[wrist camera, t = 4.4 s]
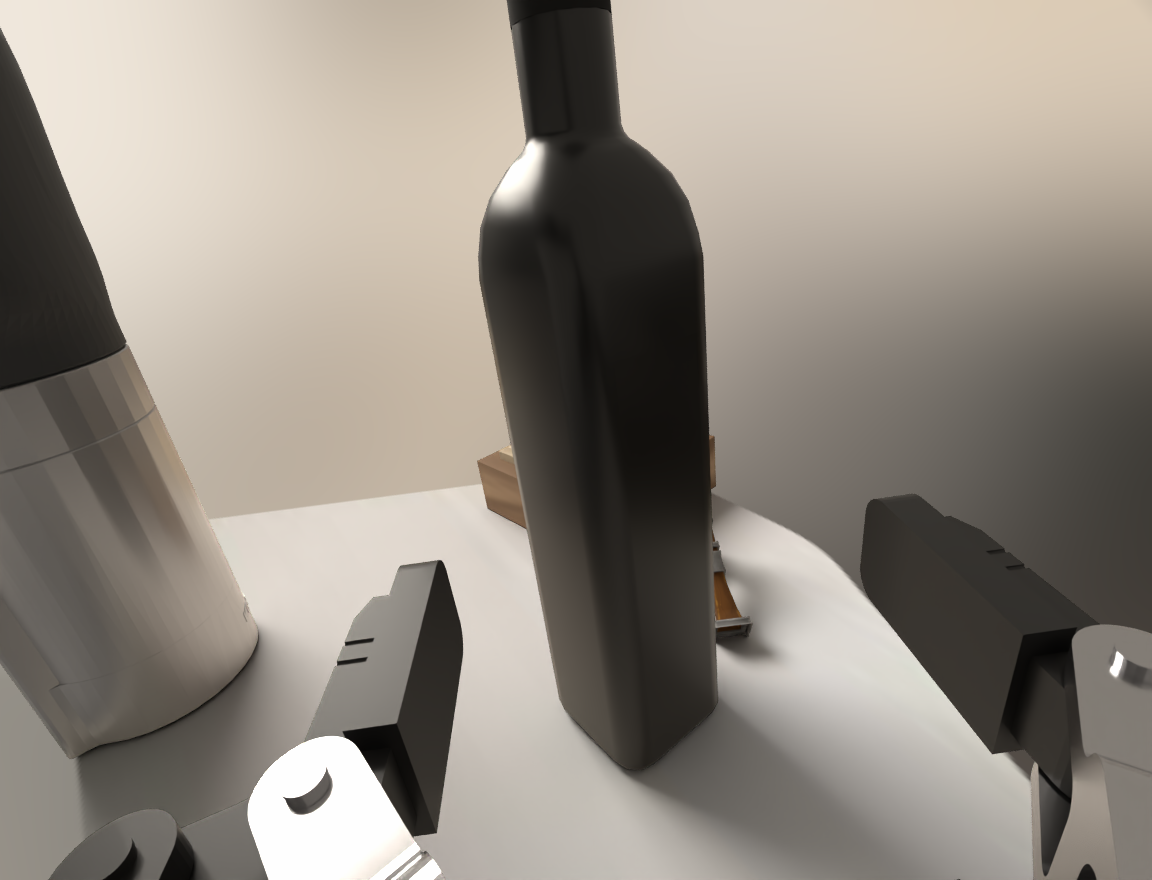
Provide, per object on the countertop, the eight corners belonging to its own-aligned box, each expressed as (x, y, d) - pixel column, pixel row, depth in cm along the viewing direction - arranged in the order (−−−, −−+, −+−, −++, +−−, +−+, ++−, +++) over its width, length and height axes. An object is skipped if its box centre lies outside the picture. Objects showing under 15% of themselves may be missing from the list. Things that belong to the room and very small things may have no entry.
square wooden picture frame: (602, 568, 35) (593, 503, 33) (487, 508, 44) (475, 453, 42) (715, 485, 42) (714, 428, 41) (598, 447, 51) (592, 398, 49)
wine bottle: (550, 700, 27) (378, -160, 14) (640, 637, 30) (560, -125, 17) (634, 788, 23) (492, -326, 10) (729, 703, 26) (709, -242, 13)
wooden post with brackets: (706, 529, 36) (713, 486, 33) (741, 657, 31) (753, 621, 28) (678, 533, 36) (681, 490, 33) (707, 661, 31) (715, 626, 28)
